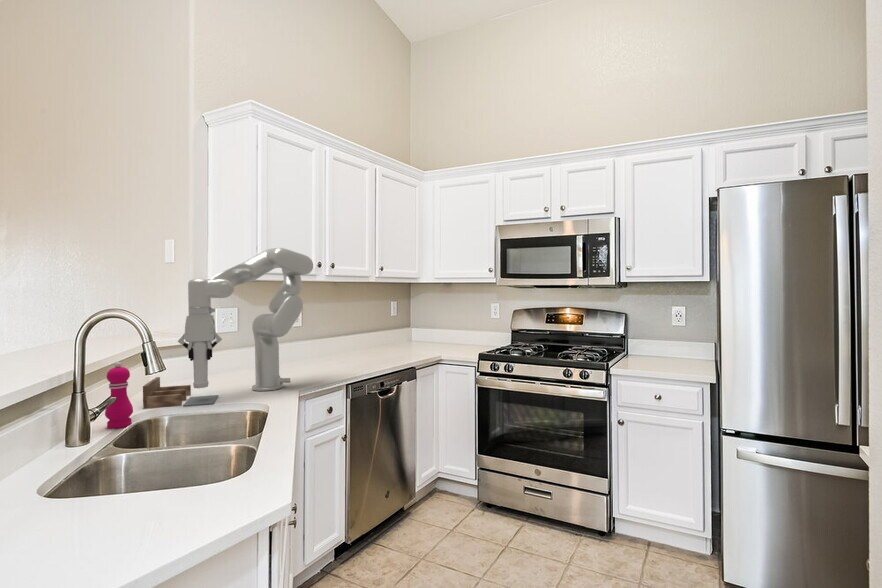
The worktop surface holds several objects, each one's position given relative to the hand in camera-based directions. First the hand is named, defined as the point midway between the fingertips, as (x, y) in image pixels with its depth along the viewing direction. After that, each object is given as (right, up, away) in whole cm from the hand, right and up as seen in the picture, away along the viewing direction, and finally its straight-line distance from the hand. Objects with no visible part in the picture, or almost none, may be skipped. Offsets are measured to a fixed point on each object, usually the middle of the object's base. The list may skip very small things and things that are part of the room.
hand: (200, 359), depth 177 cm
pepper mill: (-9, -17, -31) cm, 36 cm away
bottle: (0, -11, 0) cm, 11 cm away
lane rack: (-13, -16, +1) cm, 20 cm away
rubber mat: (0, -16, 0) cm, 16 cm away
